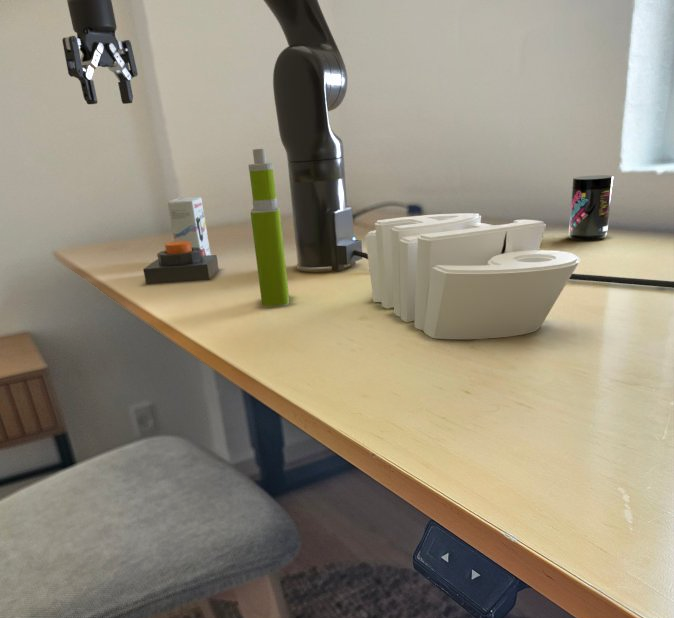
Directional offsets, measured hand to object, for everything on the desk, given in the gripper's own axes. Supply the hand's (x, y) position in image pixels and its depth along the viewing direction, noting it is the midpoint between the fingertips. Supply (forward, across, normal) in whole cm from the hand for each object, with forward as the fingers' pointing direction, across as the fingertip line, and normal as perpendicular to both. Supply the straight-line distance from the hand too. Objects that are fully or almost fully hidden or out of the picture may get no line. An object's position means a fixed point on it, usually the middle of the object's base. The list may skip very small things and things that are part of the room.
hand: (110, 103), depth 123 cm
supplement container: (+29, +34, -81) cm, 93 cm away
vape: (+29, -22, -50) cm, 62 cm away
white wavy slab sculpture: (+29, -20, -76) cm, 84 cm away
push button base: (+29, -12, -22) cm, 38 cm away
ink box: (+29, 0, -14) cm, 32 cm away
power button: (+25, -12, -22) cm, 35 cm away
